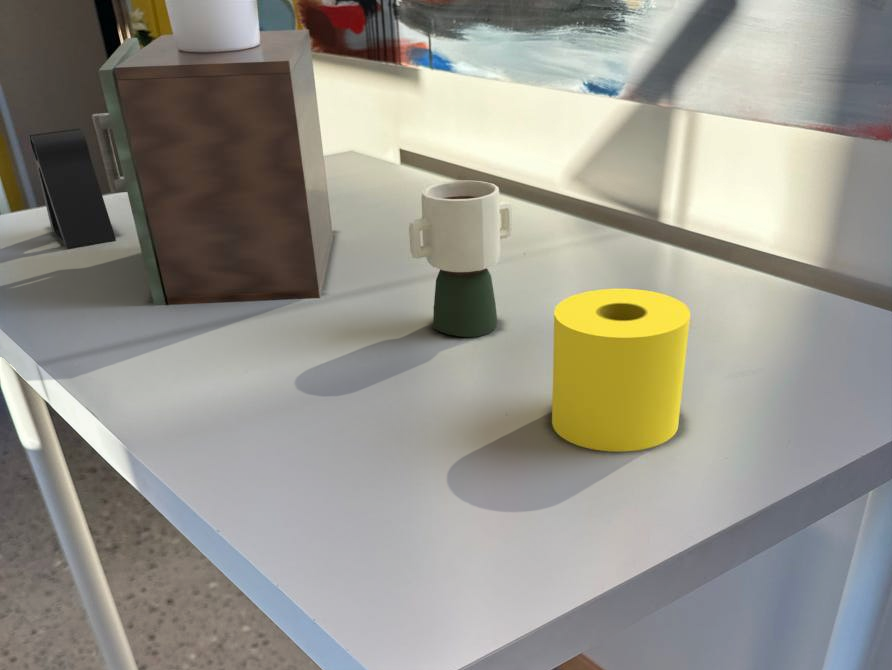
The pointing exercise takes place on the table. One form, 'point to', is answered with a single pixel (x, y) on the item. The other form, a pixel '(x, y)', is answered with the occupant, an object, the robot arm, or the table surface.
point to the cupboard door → (126, 163)
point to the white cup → (214, 25)
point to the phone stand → (71, 189)
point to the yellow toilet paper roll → (618, 368)
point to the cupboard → (231, 168)
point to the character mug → (462, 252)
